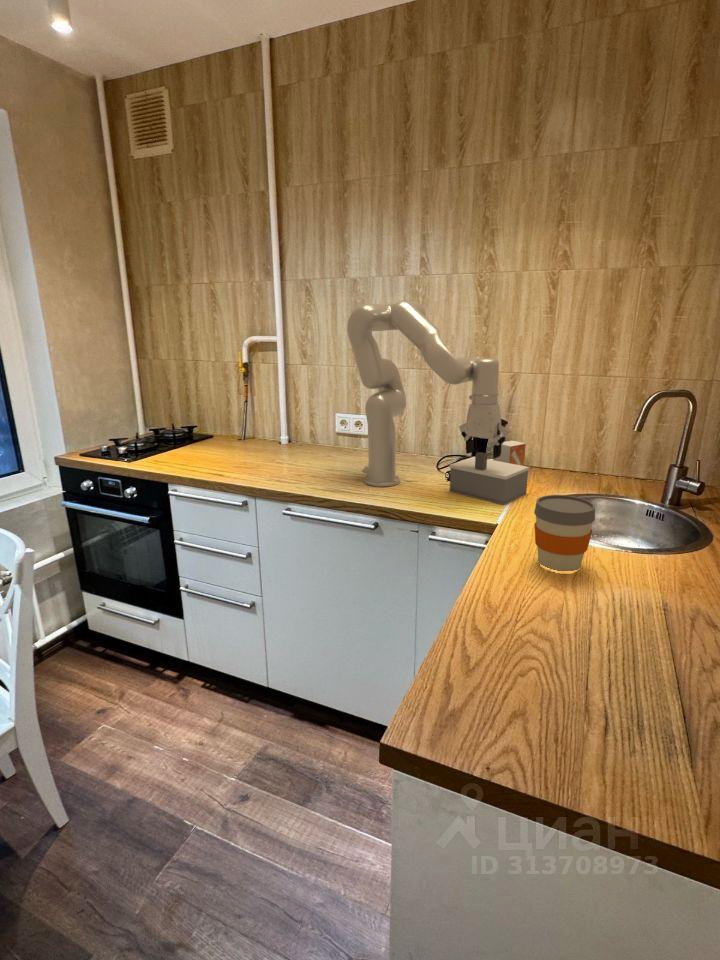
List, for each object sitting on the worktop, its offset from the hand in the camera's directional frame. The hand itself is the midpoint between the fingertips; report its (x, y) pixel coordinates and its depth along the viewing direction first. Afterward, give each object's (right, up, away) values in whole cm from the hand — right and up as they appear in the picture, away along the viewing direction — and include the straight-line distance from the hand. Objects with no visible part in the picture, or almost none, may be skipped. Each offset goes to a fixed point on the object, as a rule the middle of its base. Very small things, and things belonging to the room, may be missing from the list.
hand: (482, 454), depth 160 cm
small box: (+15, -8, +23) cm, 28 cm away
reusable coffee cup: (+7, -28, -43) cm, 52 cm away
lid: (+3, -4, +5) cm, 7 cm away
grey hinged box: (+3, -12, +8) cm, 15 cm away
